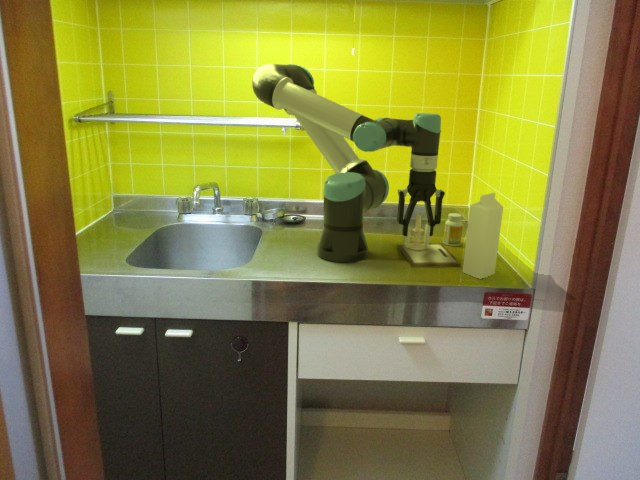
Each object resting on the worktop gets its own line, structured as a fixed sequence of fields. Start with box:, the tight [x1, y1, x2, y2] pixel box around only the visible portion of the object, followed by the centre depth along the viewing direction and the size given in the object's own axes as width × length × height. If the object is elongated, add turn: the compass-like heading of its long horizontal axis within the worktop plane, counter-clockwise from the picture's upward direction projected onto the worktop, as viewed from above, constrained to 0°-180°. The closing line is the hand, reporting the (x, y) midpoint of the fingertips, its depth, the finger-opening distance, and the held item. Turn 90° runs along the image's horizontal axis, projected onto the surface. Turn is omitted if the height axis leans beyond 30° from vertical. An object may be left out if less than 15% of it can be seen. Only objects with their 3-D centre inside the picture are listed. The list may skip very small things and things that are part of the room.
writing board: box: [397, 243, 462, 268], centre depth 146 cm, size 14×17×1 cm
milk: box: [462, 192, 504, 280], centre depth 130 cm, size 6×6×22 cm
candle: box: [409, 214, 425, 250], centre depth 147 cm, size 5×5×10 cm
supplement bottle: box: [442, 212, 464, 247], centre depth 156 cm, size 5×5×10 cm
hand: (416, 245), depth 149 cm, fingers closed on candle, 5 cm apart
